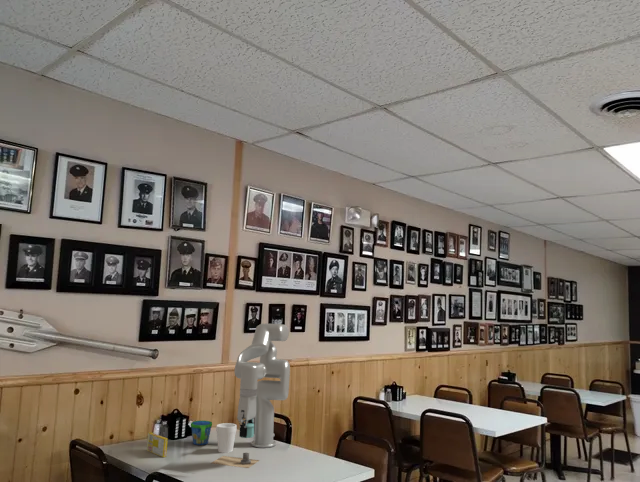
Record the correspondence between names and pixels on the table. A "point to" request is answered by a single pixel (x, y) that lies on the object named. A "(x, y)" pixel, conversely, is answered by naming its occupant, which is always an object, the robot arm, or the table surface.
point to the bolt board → (236, 461)
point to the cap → (249, 430)
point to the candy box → (157, 444)
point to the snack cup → (201, 432)
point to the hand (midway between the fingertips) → (246, 434)
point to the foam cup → (226, 437)
